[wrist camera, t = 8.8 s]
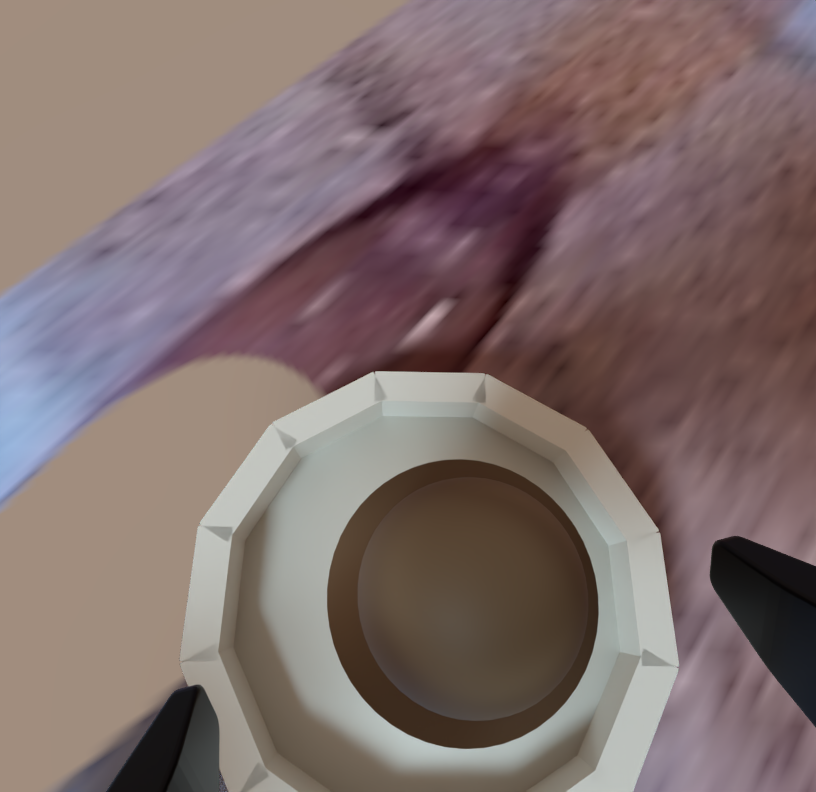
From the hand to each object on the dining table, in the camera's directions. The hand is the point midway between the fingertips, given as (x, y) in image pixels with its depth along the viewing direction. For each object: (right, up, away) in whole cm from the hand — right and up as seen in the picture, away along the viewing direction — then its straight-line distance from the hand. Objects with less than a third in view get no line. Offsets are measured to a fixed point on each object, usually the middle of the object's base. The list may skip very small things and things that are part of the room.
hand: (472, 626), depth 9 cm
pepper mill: (0, -3, +11) cm, 11 cm away
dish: (0, -4, +12) cm, 12 cm away
